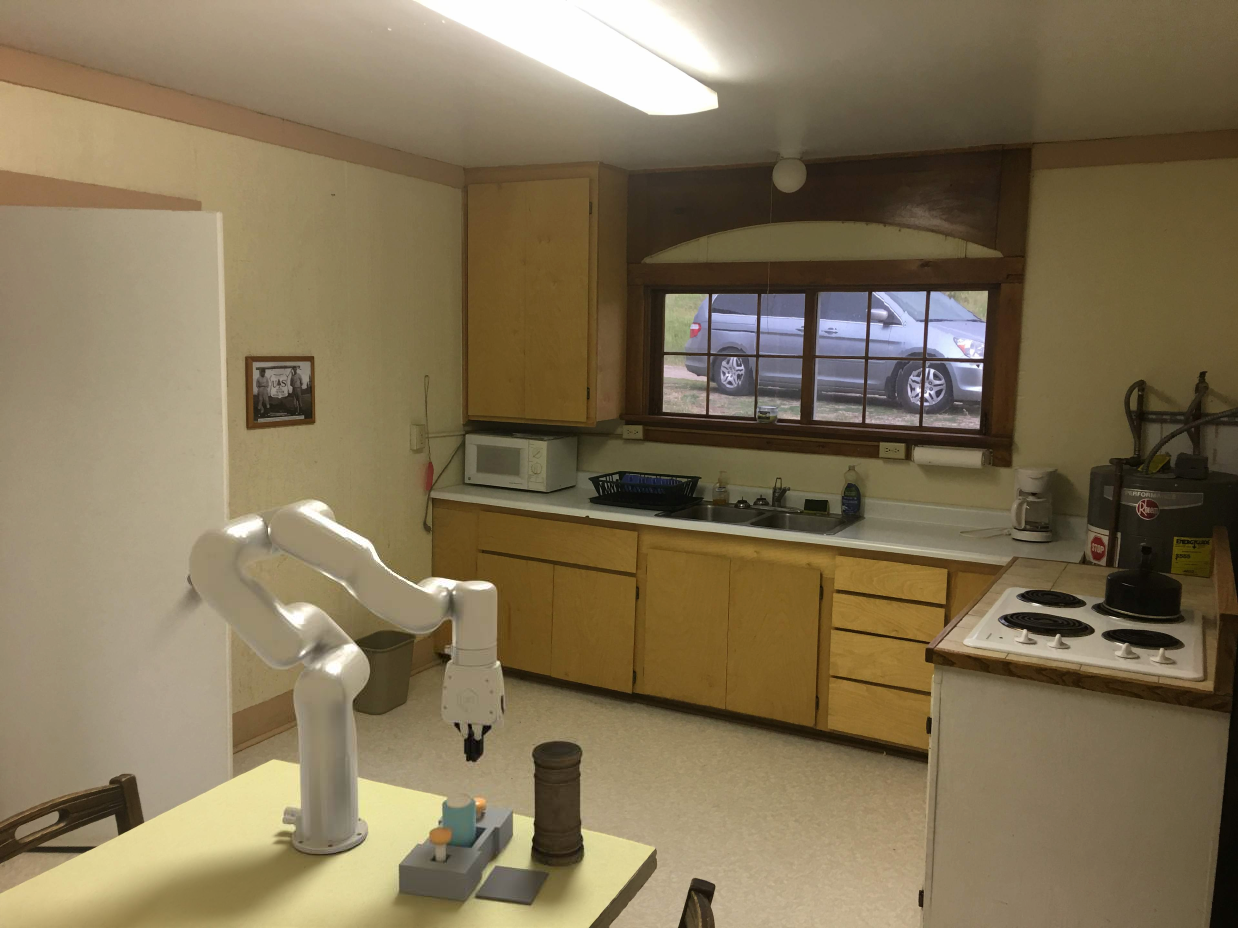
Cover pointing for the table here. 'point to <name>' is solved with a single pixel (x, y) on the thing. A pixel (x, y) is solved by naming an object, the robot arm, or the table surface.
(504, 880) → the mat
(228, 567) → the robot arm
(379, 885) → the table surface
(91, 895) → the table surface
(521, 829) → the table surface
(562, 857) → the container
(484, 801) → the orange mushroom peg
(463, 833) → the cartridge
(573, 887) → the table surface
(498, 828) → the housing
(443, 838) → the plunger
